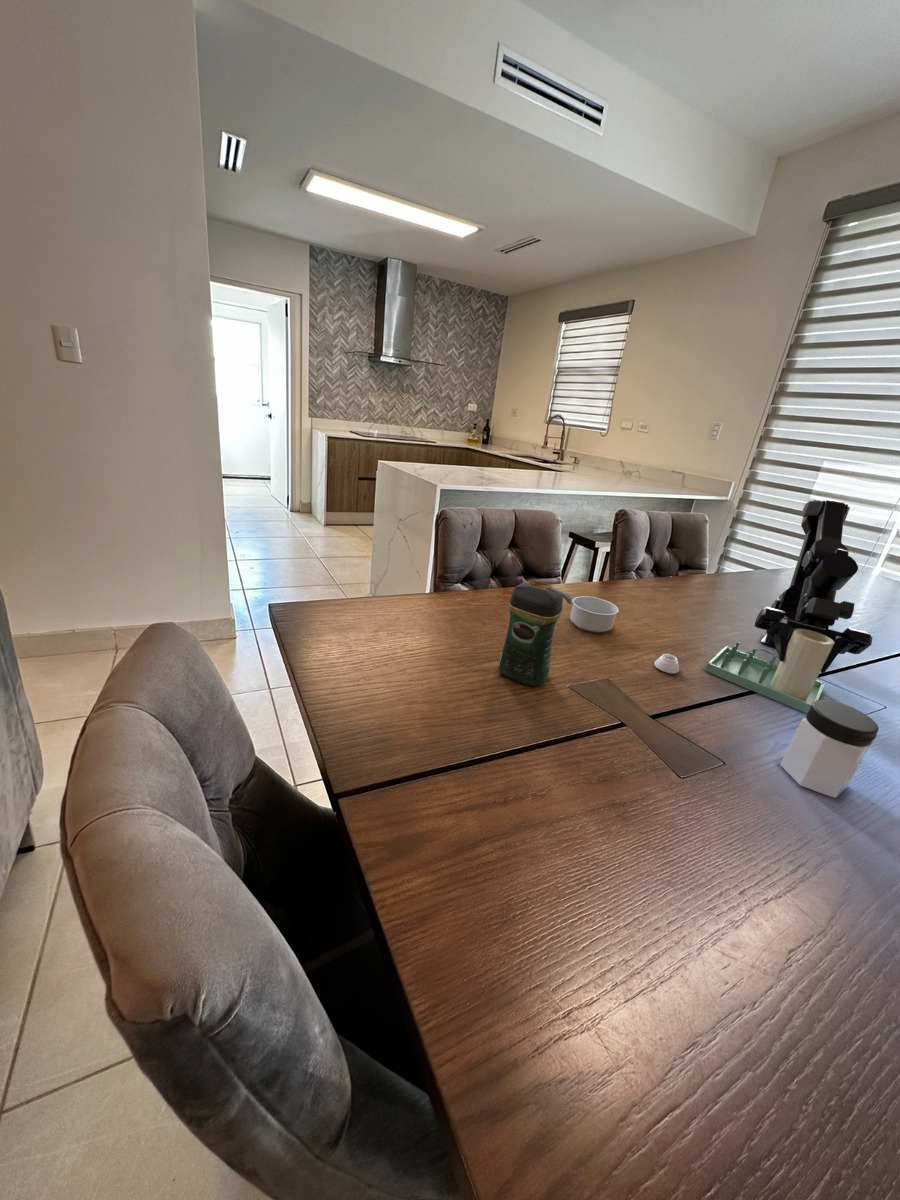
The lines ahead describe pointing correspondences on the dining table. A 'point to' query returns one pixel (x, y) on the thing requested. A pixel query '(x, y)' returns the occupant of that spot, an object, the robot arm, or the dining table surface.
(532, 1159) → the dining table surface
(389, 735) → the dining table surface
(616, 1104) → the dining table surface
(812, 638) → the beige cylindrical vase
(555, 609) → the coffee jar
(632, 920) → the dining table surface
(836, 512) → the robot arm
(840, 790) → the jar
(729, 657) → the dish rack
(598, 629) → the saucepan
